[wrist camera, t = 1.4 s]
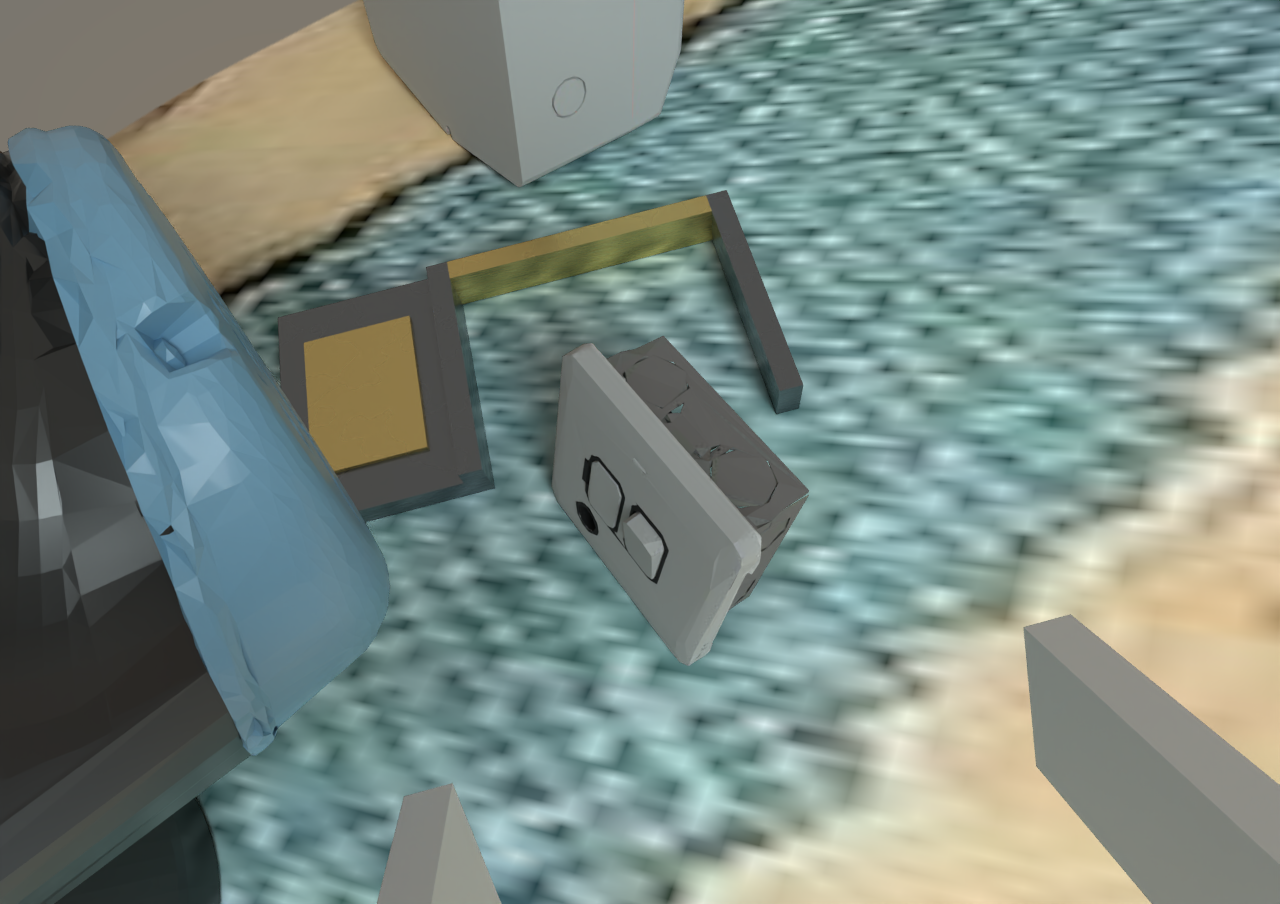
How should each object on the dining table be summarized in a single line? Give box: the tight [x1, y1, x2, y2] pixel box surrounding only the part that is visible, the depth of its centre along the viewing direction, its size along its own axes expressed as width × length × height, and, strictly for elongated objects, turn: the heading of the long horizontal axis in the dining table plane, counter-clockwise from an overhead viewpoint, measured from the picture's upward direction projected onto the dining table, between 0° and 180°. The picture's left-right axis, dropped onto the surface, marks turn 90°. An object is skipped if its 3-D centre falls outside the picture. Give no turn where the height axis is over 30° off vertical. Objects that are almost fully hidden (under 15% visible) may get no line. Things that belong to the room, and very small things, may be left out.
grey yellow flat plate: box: [278, 190, 803, 522], centre depth 35 cm, size 22×11×2 cm, turn 104°
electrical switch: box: [552, 336, 809, 666], centre depth 28 cm, size 9×5×9 cm, turn 37°
